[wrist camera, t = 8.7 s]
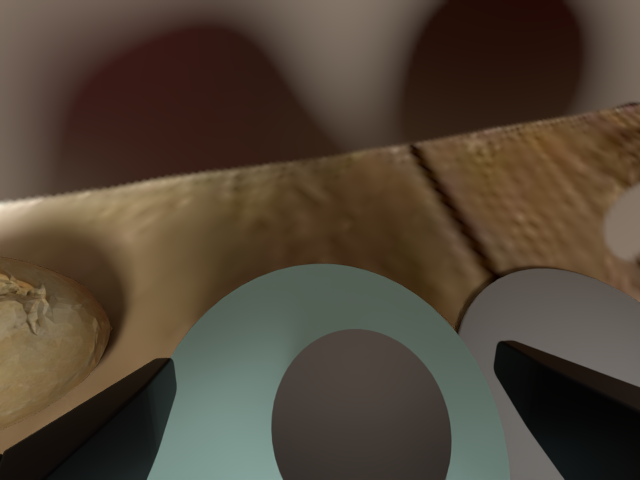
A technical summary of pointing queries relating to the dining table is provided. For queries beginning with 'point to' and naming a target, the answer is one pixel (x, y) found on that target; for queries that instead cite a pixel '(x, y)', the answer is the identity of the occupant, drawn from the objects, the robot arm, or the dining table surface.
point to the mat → (551, 341)
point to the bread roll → (44, 338)
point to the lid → (328, 387)
